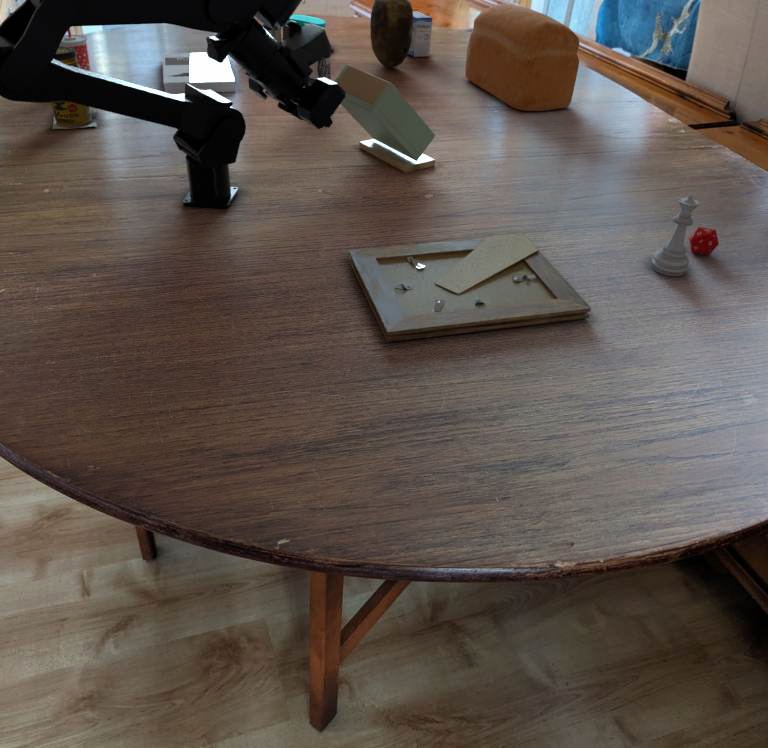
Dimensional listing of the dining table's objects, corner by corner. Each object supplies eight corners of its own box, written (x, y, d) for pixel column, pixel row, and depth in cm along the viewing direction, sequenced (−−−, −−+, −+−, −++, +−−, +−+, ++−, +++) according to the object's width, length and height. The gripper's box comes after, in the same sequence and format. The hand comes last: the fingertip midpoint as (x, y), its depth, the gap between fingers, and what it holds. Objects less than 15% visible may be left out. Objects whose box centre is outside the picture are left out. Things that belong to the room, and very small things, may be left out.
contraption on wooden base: (249, 42, 178) (245, -27, 169) (320, 39, 183) (319, -28, 174) (261, 57, 168) (257, -17, 158) (336, 53, 173) (336, -18, 164)
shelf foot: (405, 172, 115) (405, 166, 114) (359, 147, 123) (359, 141, 122) (434, 165, 118) (435, 159, 117) (387, 141, 126) (387, 135, 125)
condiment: (52, 130, 124) (34, 55, 116) (54, 114, 130) (38, 43, 123) (97, 127, 126) (82, 54, 118) (97, 112, 132) (83, 41, 125)
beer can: (327, 110, 138) (326, 43, 131) (303, 108, 139) (301, 40, 132) (333, 103, 142) (333, 37, 135) (310, 100, 143) (308, 35, 135)
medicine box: (399, 49, 178) (401, 11, 173) (415, 48, 180) (417, 10, 175) (413, 57, 173) (416, 17, 167) (430, 56, 174) (433, 17, 169)
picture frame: (522, 244, 96) (348, 261, 91) (524, 232, 95) (348, 248, 90) (588, 319, 82) (387, 343, 77) (591, 306, 81) (387, 329, 75)
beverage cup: (97, 90, 143) (82, 12, 134) (64, 92, 141) (47, 13, 132) (95, 81, 147) (80, 5, 139) (63, 83, 145) (46, 6, 137)
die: (727, 248, 96) (717, 219, 95) (715, 256, 94) (705, 226, 93) (701, 254, 98) (692, 227, 98) (689, 262, 96) (679, 234, 96)
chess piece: (652, 257, 95) (673, 184, 89) (687, 264, 94) (711, 191, 88) (649, 272, 92) (671, 197, 86) (685, 279, 90) (710, 204, 84)
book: (163, 63, 160) (162, 53, 159) (226, 61, 163) (226, 52, 162) (164, 93, 142) (163, 83, 141) (235, 91, 146) (235, 81, 144)
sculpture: (415, 74, 161) (422, -27, 149) (378, 75, 159) (382, -28, 147) (399, 59, 171) (404, -38, 159) (364, 60, 169) (367, -38, 157)
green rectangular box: (416, 161, 116) (371, 111, 106) (373, 138, 123) (327, 90, 113) (435, 135, 115) (392, 83, 105) (391, 114, 123) (346, 63, 113)
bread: (516, 114, 141) (528, 26, 132) (459, 77, 160) (467, -2, 151) (576, 109, 145) (593, 23, 136) (514, 74, 165) (525, -4, 155)
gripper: (333, 19, 91) (398, 96, 103) (261, -7, 103) (328, 65, 115) (281, 92, 92) (352, 161, 104) (216, 58, 104) (286, 123, 116)
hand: (329, 124), depth 110 cm, fingers closed
